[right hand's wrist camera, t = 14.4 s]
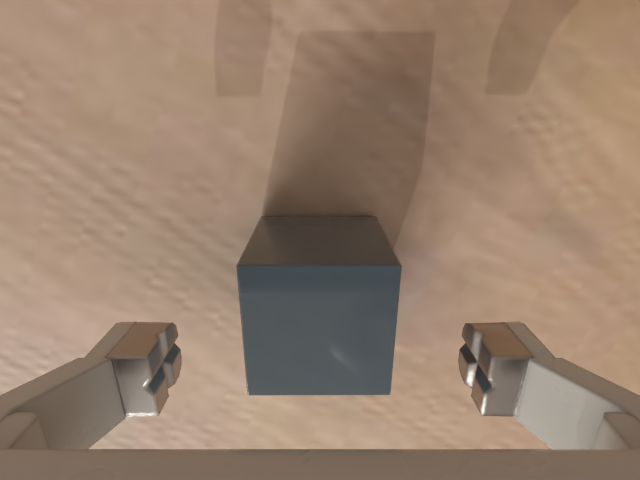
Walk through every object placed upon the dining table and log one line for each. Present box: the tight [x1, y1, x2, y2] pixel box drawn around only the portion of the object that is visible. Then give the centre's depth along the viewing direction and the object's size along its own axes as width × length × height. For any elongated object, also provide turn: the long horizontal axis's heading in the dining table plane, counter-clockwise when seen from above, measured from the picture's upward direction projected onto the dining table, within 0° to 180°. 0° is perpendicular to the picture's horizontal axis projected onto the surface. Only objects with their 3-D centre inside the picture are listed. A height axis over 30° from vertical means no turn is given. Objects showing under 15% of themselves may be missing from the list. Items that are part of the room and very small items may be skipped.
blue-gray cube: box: [236, 217, 402, 395], centre depth 13 cm, size 5×5×5 cm
